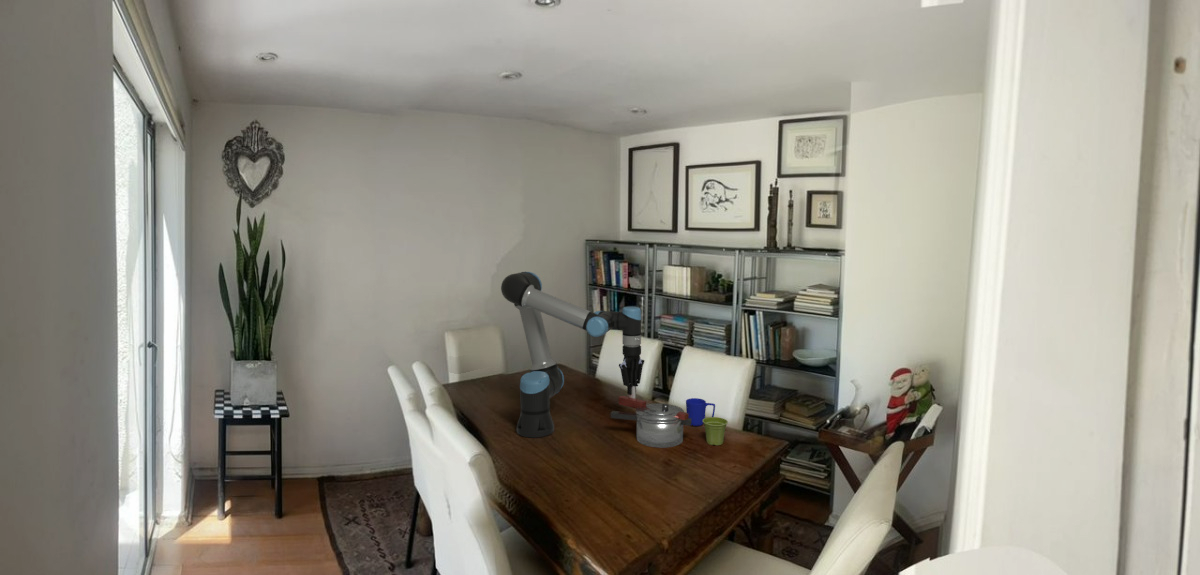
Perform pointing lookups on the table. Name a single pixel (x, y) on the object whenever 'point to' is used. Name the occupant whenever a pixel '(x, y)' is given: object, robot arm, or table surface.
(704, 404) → the mug
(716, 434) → the plant pot
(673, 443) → the pot
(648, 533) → the table surface
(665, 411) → the lid
